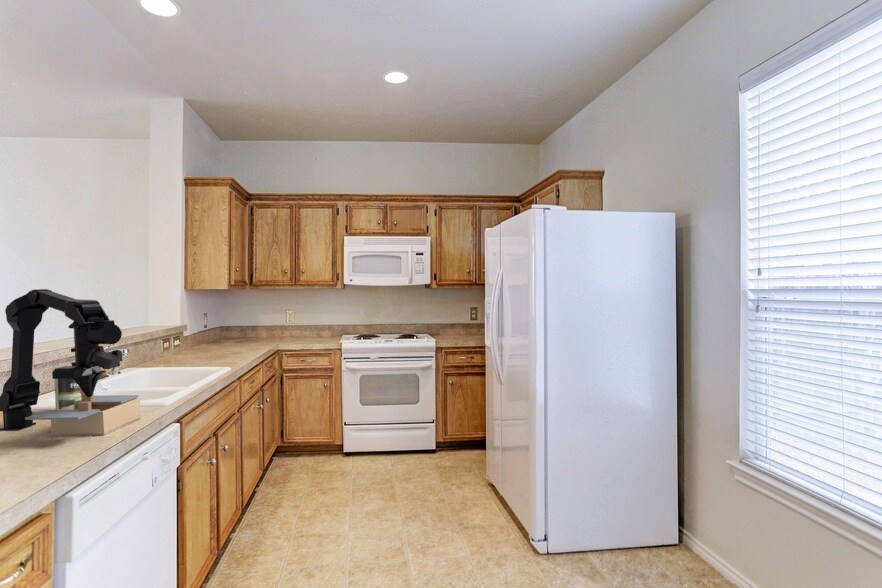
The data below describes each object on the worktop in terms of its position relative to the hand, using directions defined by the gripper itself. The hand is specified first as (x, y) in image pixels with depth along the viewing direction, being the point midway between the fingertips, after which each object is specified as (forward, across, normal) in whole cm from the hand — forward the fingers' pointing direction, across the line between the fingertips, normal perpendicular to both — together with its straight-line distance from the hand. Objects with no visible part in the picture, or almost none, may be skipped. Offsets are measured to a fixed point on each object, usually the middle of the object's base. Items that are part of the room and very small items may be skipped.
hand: (89, 396), depth 140 cm
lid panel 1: (+4, -5, +4) cm, 7 cm away
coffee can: (+12, +24, +25) cm, 37 cm away
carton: (+11, +8, +4) cm, 15 cm away
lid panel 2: (+4, +12, +4) cm, 13 cm away
